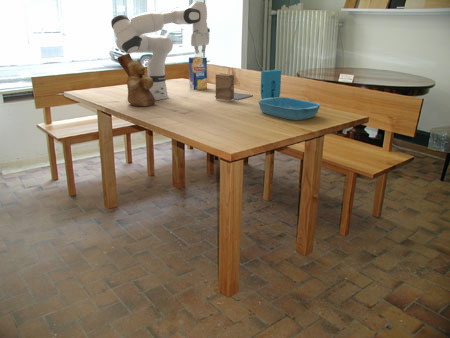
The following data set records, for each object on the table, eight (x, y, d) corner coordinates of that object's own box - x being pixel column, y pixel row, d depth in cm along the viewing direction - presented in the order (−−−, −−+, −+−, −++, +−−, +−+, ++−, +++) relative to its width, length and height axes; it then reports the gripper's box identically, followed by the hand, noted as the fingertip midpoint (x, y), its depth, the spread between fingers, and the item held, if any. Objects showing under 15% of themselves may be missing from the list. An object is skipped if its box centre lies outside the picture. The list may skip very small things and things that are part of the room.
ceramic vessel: (147, 108, 264) (144, 55, 254) (115, 105, 271) (110, 54, 260) (159, 103, 278) (157, 53, 268) (128, 101, 285) (125, 52, 275)
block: (275, 102, 280) (276, 69, 273) (280, 103, 276) (281, 70, 269) (259, 104, 274) (260, 70, 268) (264, 105, 270) (265, 71, 264)
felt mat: (237, 100, 287) (237, 99, 286) (215, 97, 297) (215, 96, 297) (253, 96, 300) (253, 95, 300) (231, 93, 310) (231, 92, 310)
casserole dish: (250, 111, 255) (250, 99, 253) (279, 106, 268) (279, 94, 266) (298, 124, 228) (299, 110, 225) (327, 118, 241) (328, 104, 238)
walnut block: (228, 101, 283) (228, 75, 277) (215, 99, 288) (215, 74, 283) (233, 100, 287) (234, 74, 282) (221, 98, 293) (221, 73, 287)
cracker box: (207, 88, 329) (206, 57, 322) (193, 89, 324) (193, 58, 317) (202, 87, 335) (202, 56, 327) (189, 88, 329) (188, 57, 322)
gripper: (197, 30, 267) (198, 54, 271) (210, 29, 285) (211, 52, 289) (188, 30, 269) (188, 54, 273) (201, 29, 287) (202, 51, 291)
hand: (200, 53), depth 281 cm, fingers open, 8 cm apart
